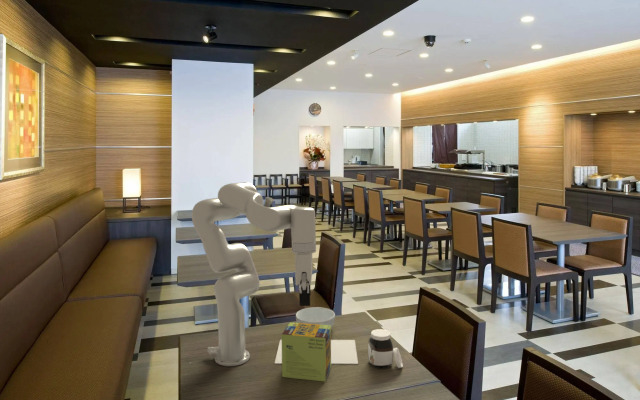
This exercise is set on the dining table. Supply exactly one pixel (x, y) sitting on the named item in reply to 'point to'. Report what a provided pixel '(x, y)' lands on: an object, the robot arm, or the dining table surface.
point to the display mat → (333, 352)
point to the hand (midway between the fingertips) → (305, 300)
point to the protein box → (306, 351)
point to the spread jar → (382, 350)
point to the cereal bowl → (316, 316)
